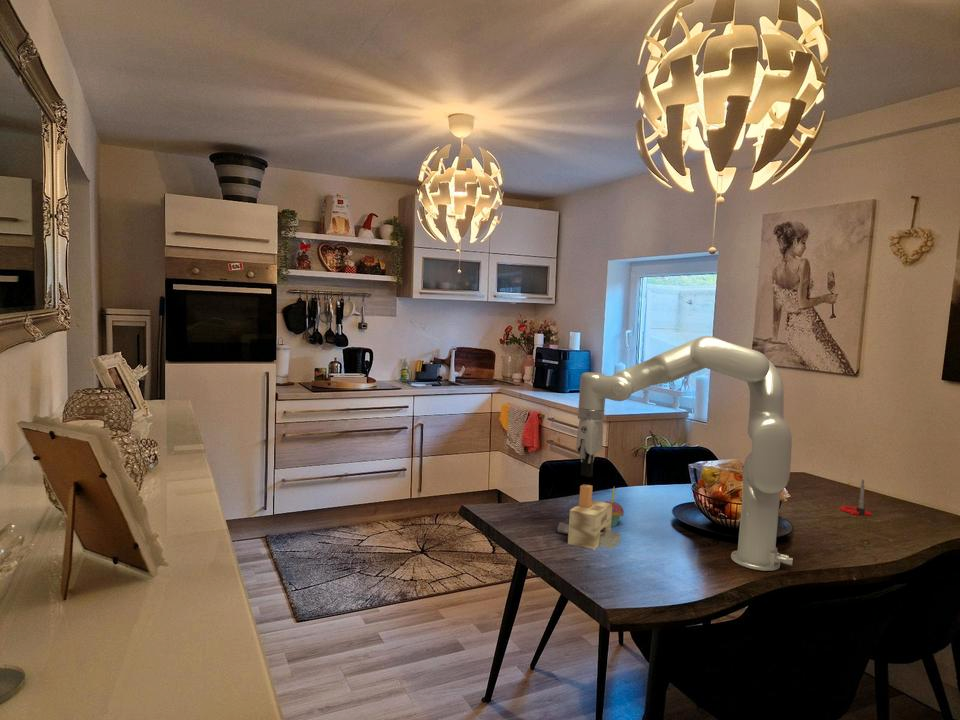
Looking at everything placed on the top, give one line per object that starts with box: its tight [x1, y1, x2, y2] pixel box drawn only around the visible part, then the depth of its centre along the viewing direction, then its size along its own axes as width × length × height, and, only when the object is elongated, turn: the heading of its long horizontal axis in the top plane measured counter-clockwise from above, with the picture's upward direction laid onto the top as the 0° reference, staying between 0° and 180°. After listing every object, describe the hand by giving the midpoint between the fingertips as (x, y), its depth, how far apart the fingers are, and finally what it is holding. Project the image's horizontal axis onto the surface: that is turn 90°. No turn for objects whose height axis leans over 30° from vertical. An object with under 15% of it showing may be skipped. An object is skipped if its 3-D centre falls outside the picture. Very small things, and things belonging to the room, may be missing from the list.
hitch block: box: [567, 499, 612, 551], centre depth 186 cm, size 8×14×10 cm, turn 149°
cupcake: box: [604, 486, 625, 527], centre depth 202 cm, size 9×8×12 cm
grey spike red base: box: [839, 479, 872, 516], centre depth 230 cm, size 8×13×9 cm
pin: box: [557, 522, 621, 550], centre depth 187 cm, size 18×6×3 cm, turn 59°
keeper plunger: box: [578, 483, 594, 508], centre depth 187 cm, size 3×3×7 cm
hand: (586, 475), depth 186 cm, fingers closed
